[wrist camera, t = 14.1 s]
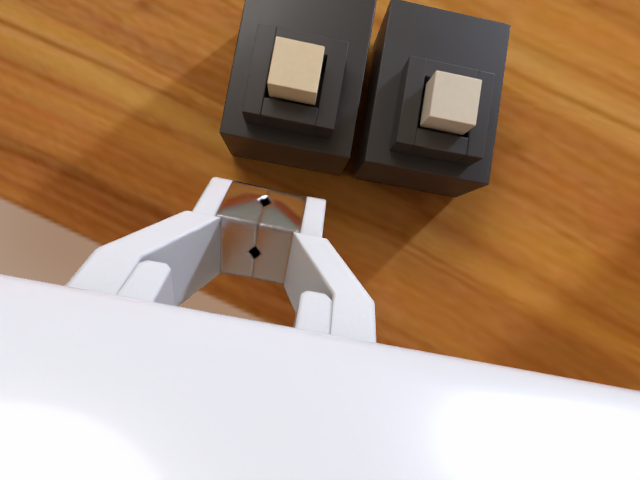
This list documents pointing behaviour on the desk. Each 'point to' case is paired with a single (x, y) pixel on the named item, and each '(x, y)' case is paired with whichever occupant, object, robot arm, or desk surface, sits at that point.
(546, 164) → the desk surface
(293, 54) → the high key
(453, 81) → the low key
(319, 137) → the high key box
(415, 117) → the low key box
